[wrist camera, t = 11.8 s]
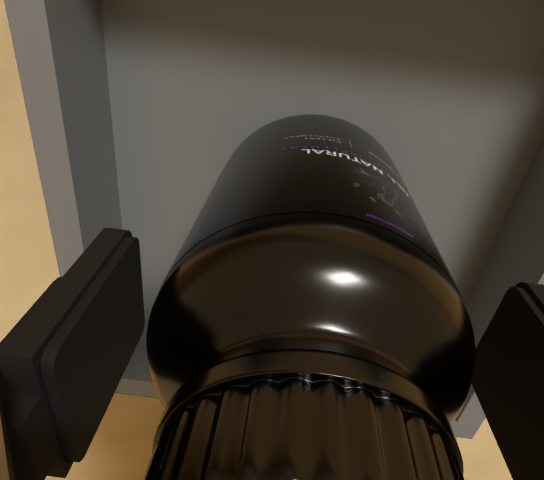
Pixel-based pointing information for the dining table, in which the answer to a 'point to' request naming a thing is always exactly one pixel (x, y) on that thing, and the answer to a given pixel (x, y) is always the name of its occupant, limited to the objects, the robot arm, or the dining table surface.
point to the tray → (284, 103)
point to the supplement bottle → (309, 322)
